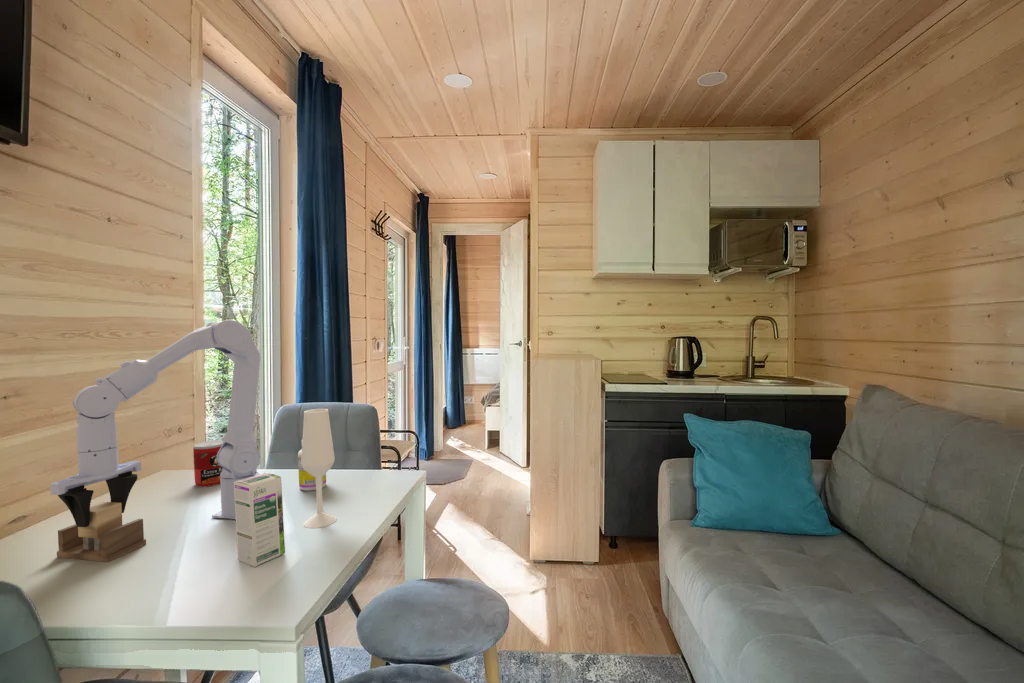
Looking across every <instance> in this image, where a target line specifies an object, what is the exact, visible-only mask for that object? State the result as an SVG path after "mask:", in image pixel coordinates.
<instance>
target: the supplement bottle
mask: <svg viewBox="0 0 1024 683" xmlns="http://www.w3.org/2000/svg"><path fill="white" fill-rule="evenodd" d="M300 445H301V446H302V439H301V444H300ZM301 454H302V448H301V449H300V450H299V451H298V453H297V464H298V465H297V467H298V470H297V471H298V487H299V489H300V490H301V491H306V492H310V491H316V477H314V476H312V475H310V474H309V473H308V472H306V471H305V470H304V469H303V467H302V466H301ZM326 485H327V473H326V474H324V475H323V476H322V489H323V488H324V487H325V486H326Z"/></svg>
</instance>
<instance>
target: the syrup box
mask: <svg viewBox="0 0 1024 683" xmlns="http://www.w3.org/2000/svg"><path fill="white" fill-rule="evenodd" d="M260 474H261V475H257V476H254V477H250V478H246V479H243V480H238V481H235V482H234V499H235V516H236V519H235V529H236V532H235V533H236V549H237V552H236V554H237V560H239V561H240V562H242V563H244V564H246V565H249V566H251V567H253V568H256V567H258V566H259V565H262V564H264V563H266V562H268V561H271V560H273V559H275V558H278V557H279V556H282V555H285V553H286V546H285V544H286V543H285V526H284V507H283V490H282V489H283V486H282V484H283V483H282V476H280V475H277V474H273V473H270V472H269V473H266V472H263V473H260Z"/></svg>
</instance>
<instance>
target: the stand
mask: <svg viewBox="0 0 1024 683" xmlns="http://www.w3.org/2000/svg"><path fill="white" fill-rule="evenodd" d="M144 535H145V531H144V518H137V519H134V520H132V521H130V522H127V523H124V524H122V526H119V527H117V528H114V529H112V530H109V531H107V532H104V533H102V534H100V538H86V537H78V527H77V526H76V523H74V524H73V525H70V526H67V527H64V528H61V529H59V530H57V539H58V540H57V543H58V551H56V557H57V558H64V559H74V560H83V561H95V562H106V563H109V562H111V561H114V560H115V559H117V558H120V557H122V556H124V555H126V554H128V553H130V552H133V551H134V550H137V549H139V548H141V547H143V546H146V545H147V539H146V538H144V537H145V536H144Z"/></svg>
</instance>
